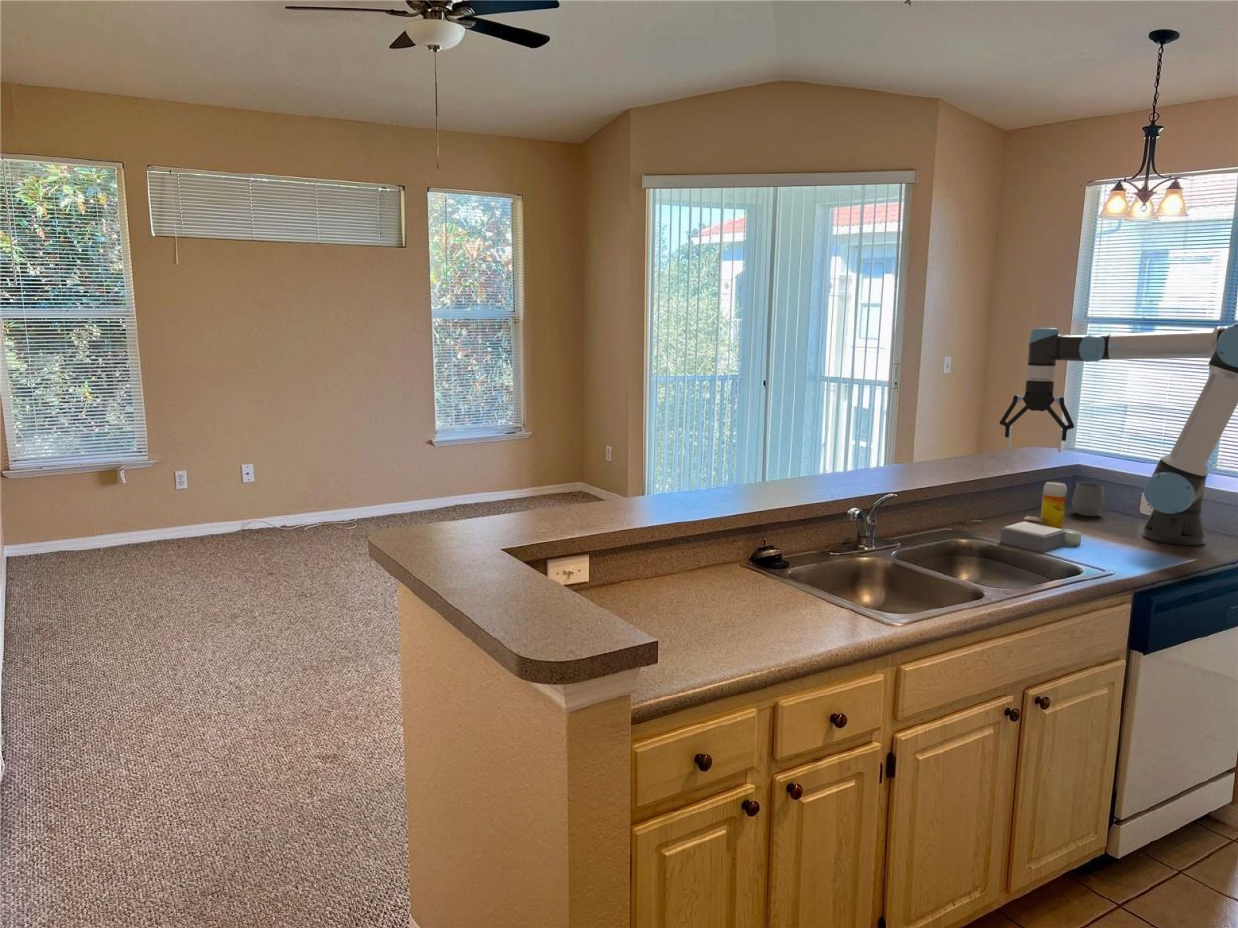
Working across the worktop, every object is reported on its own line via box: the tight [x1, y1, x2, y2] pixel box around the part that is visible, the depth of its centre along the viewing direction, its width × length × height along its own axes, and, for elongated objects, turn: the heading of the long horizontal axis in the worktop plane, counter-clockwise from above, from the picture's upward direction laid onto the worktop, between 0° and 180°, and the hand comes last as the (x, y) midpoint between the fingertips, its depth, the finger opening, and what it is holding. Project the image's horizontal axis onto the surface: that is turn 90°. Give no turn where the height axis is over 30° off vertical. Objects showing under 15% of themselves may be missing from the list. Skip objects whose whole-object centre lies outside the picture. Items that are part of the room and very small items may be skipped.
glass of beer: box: [1039, 481, 1068, 529], centre depth 248 cm, size 6×6×15 cm
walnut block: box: [1022, 515, 1046, 526], centre depth 247 cm, size 5×5×5 cm
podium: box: [999, 521, 1065, 553], centre depth 237 cm, size 12×12×5 cm
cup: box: [1071, 481, 1105, 517], centre depth 274 cm, size 10×9×10 cm
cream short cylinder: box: [1062, 528, 1083, 547], centre depth 238 cm, size 6×6×4 cm
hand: (1034, 450), depth 255 cm, fingers open, 13 cm apart
